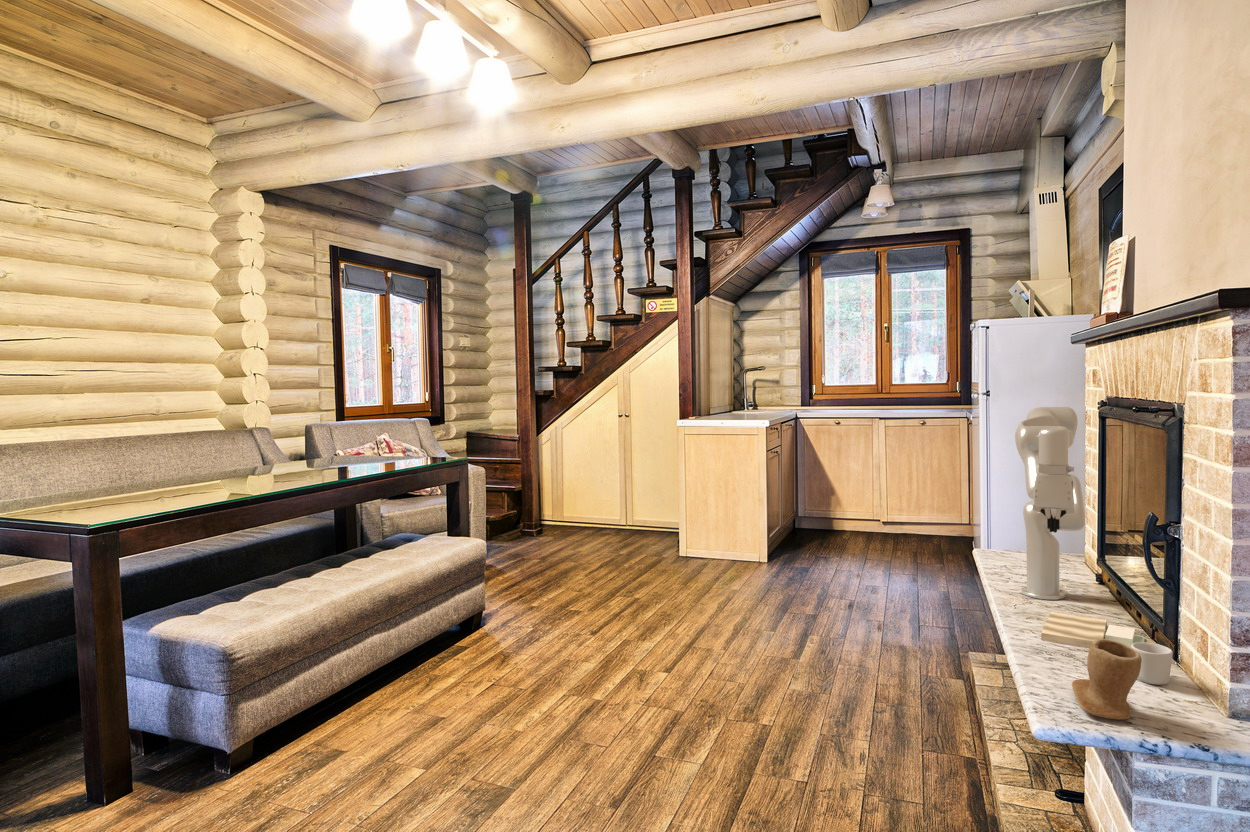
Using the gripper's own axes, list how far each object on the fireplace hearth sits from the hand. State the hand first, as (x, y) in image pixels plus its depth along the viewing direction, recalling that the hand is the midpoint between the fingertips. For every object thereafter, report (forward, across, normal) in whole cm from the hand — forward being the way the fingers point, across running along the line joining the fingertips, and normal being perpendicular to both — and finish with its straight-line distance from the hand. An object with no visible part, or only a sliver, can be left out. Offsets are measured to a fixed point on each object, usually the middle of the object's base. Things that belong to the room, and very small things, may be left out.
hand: (1053, 531), depth 211 cm
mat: (+27, -18, +12) cm, 34 cm away
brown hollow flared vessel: (+27, -16, +58) cm, 66 cm away
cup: (+27, -24, +34) cm, 50 cm away
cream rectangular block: (+27, -17, +8) cm, 32 cm away
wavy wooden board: (+27, -6, +8) cm, 29 cm away
